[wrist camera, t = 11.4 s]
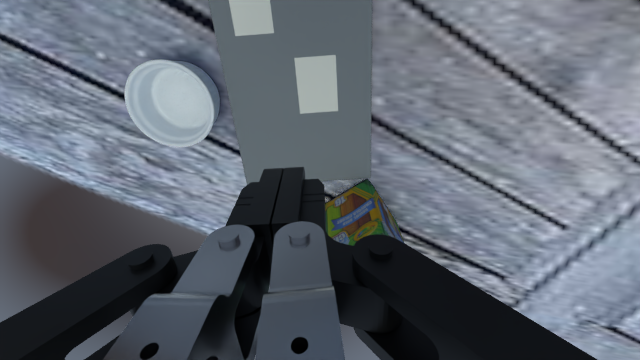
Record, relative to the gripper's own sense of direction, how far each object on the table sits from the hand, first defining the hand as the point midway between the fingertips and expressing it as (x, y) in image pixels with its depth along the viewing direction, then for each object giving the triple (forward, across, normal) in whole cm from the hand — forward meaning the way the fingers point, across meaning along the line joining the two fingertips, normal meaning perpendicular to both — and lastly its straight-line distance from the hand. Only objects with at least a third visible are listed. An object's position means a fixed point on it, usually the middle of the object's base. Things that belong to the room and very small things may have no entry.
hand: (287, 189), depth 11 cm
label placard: (+24, +1, +1) cm, 24 cm away
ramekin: (+25, +14, +1) cm, 28 cm away
